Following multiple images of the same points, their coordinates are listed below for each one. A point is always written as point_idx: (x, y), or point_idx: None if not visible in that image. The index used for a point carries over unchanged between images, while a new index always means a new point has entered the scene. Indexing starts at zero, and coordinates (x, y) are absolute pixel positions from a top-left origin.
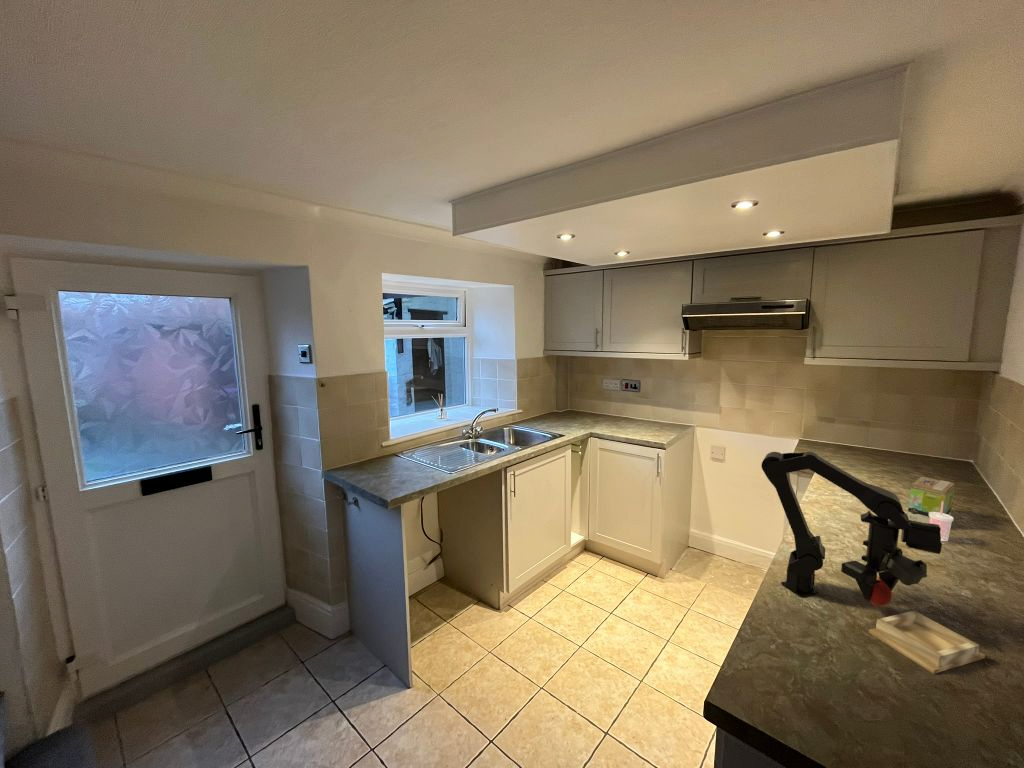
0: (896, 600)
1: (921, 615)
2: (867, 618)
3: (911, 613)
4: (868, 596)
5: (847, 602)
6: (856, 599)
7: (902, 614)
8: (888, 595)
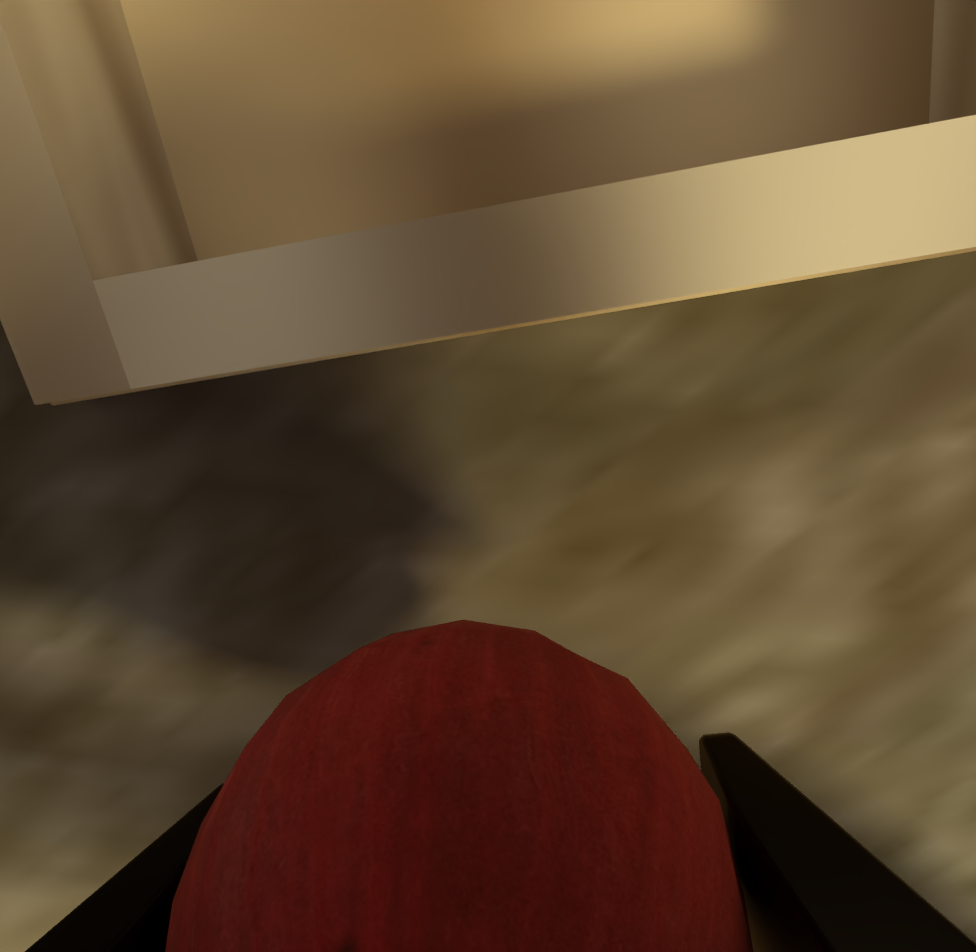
0: (24, 759)
1: (7, 224)
2: (747, 521)
3: (172, 318)
4: (824, 821)
5: None
6: None
7: (399, 313)
8: (430, 758)
